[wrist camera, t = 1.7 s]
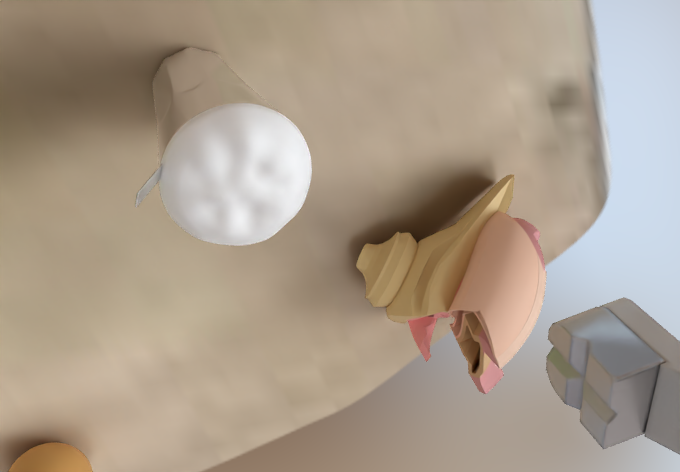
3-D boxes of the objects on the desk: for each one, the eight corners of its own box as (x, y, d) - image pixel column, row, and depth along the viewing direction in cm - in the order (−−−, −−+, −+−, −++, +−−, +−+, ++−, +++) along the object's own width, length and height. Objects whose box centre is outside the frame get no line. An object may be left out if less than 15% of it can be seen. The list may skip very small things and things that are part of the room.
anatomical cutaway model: (324, 322, 35) (339, 307, 26) (399, 164, 37) (439, 97, 28) (477, 396, 35) (548, 408, 26) (543, 234, 37) (632, 190, 28)
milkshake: (119, 12, 23) (149, 114, 15) (262, 42, 25) (352, 144, 18) (105, 130, 25) (124, 275, 17) (238, 148, 27) (309, 282, 20)
